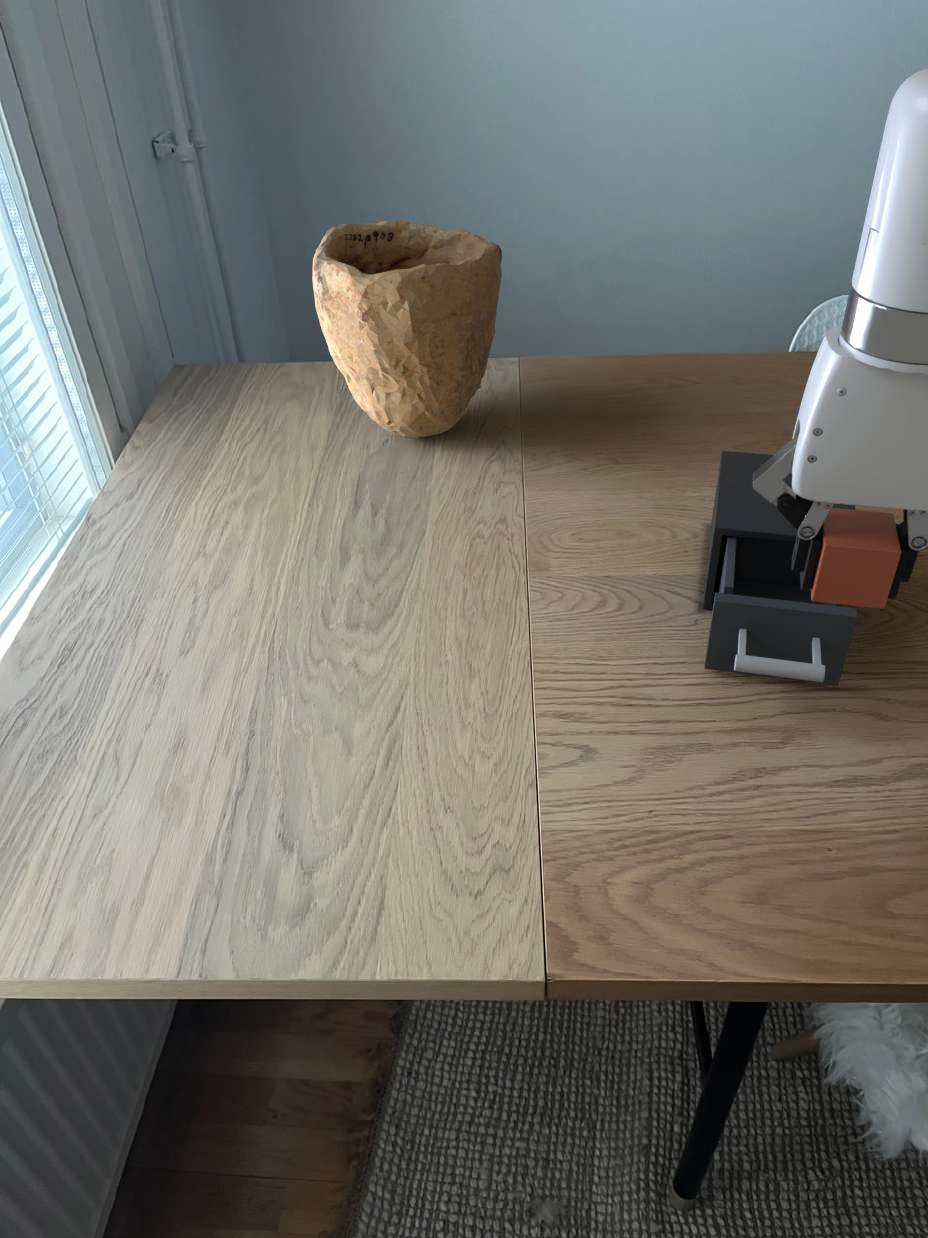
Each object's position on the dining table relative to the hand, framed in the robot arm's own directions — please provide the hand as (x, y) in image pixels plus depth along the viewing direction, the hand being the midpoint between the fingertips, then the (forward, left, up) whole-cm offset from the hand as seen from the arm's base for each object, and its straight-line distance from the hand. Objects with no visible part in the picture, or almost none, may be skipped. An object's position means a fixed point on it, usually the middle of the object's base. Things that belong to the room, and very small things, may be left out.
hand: (846, 580), depth 64 cm
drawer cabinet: (+2, -27, -19) cm, 33 cm away
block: (0, 0, 0) cm, 0 cm away
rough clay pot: (+46, -50, -20) cm, 71 cm away
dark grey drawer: (+2, -14, -18) cm, 23 cm away
